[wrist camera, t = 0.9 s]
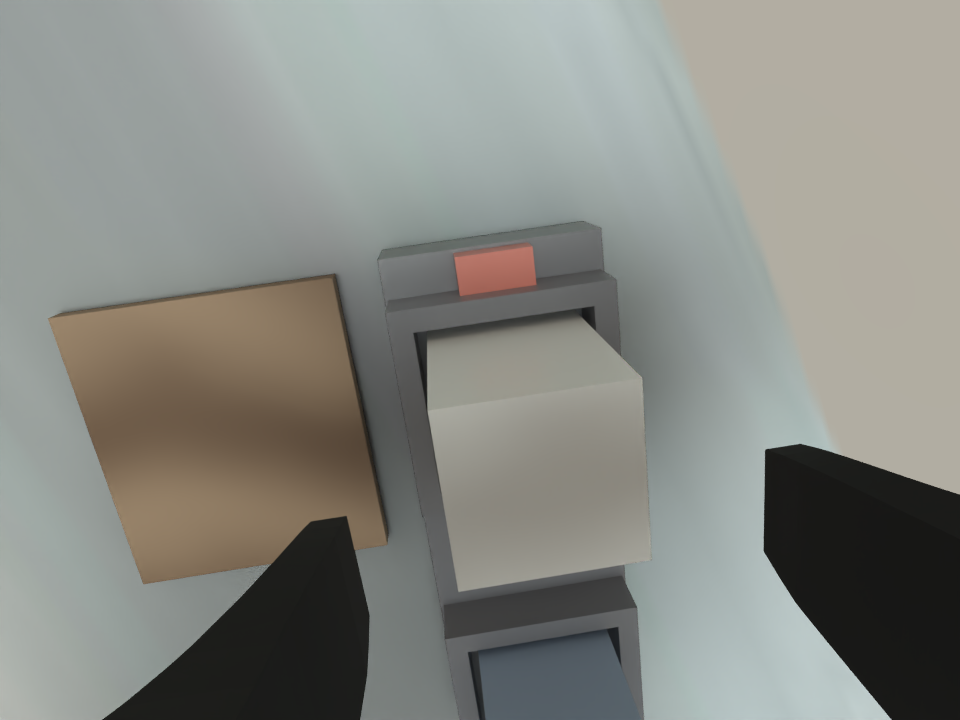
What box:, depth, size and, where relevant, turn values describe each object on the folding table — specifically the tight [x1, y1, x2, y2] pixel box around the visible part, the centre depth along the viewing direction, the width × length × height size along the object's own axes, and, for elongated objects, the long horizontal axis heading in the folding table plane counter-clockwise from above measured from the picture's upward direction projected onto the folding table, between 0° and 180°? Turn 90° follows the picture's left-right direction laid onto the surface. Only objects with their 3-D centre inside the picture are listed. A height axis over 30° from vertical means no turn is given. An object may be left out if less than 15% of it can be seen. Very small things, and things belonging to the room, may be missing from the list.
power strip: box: [377, 221, 644, 720], centre depth 21 cm, size 24×6×4 cm, turn 7°
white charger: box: [427, 309, 652, 592], centre depth 15 cm, size 4×4×6 cm
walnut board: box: [48, 274, 388, 584], centre depth 19 cm, size 9×8×1 cm
